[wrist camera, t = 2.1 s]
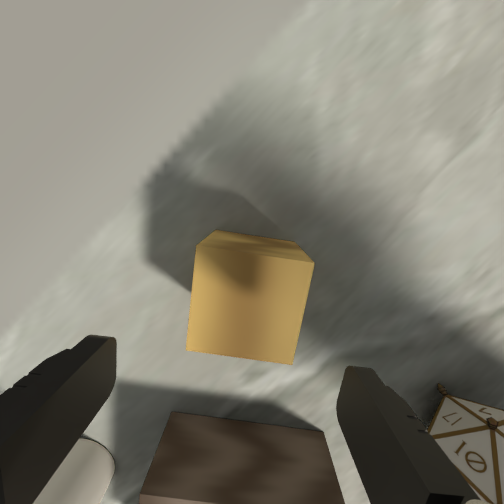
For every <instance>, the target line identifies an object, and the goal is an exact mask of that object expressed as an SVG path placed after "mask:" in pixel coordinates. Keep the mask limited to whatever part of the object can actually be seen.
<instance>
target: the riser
mask: <svg viewBox="0 0 504 504" xmlns="http://www.w3.org/2000/svg"><path fill="white" fill-rule="evenodd" d="M139 504H345V502H344V499H343V496H342V492H341V489H340V486H339V482H338V479H337V476H336V472H335V469H334V465H333V462H332V459H331V455H330V452H329V449H328V445H327V442H326V439H325V435H324V432H321V431H313V430H306V429H298V428H290V427H283V426H275V425H268V424H260V423H253V422H245V421H238V420H230V419H223V418H215V417H208V416H200V415H193V414H185V413H177V412H171V414H170V417H169V420H168V422H167V425H166V427H165V430H164V432H163V435H162V438H161V440H160V443H159V445H158V448H157V450H156V453H155V456H154V458H153V461H152V463H151V466H150V469H149V471H148V474H147V476H146V479H145V481H144V484H143V487H142V489H141V492H140V495H139Z"/></svg>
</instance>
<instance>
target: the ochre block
mask: <svg viewBox="0 0 504 504" xmlns="http://www.w3.org/2000/svg"><path fill="white" fill-rule="evenodd" d="M314 264H315V263H314V262H313V261H312V260H311V259H310V258H309V256H308V255H307V254H306V253H305V252H304V251H303V250H302V249H301V248H300V247H299V246H298V245H297V244H296V243H295V242H292V241H286V240H279V239H273V238H266V237H259V236H253V235H246V234H240V233H233V232H226V231H220V230H215V231H213V232H212V233H211V234H210V235H208V236H207V237H206V238H205V239H204V240H202V241H201V242H200V243H199V244H197V245H196V253H195V263H194V273H193V283H192V293H191V303H190V313H189V323H188V333H187V343H186V350H188V351H195V352H202V353H209V354H217V355H224V356H231V357H238V358H246V359H253V360H260V361H267V362H274V363H282V364H289V365H292V364H293V359H294V355H295V350H296V346H297V341H298V337H299V332H300V328H301V323H302V319H303V314H304V310H305V305H306V300H307V296H308V291H309V287H310V282H311V278H312V273H313V269H314Z"/></svg>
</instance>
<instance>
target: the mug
mask: <svg viewBox="0 0 504 504" xmlns="http://www.w3.org/2000/svg"><path fill="white" fill-rule="evenodd" d="M114 471H115V464H114V460H113V458H112V456H111V454H110V453H109V452H108V450H107V449H105V448H104V447H103V446H102V445H100V444H98V443H96V442H94V441H91V440H88V439H83V438H79V439H78V441H77V442H76V444H75V445H74V446H73V448H72V449H71V451H70V452H69V453H68V455H67V456H66V458H65V459H64V460H63V462H62V463H61V465H60V466H59V468H58V469H57V470H56V472H55V473H54V475H53V476H52V477H51V479H50V480H49V482H48V483H47V484H46V486H45V487H44V489H43V490H42V491H41V493H40V494H39V496H38V497H37V498H36V500H35V501H34V503H33V504H100V502H101V500H102V498H103V496H104V494H105V491H106V489H107V487H108V485H109V483H110V481H111V479H112V477H113V475H114Z"/></svg>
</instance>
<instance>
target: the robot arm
mask: <svg viewBox="0 0 504 504" xmlns="http://www.w3.org/2000/svg"><path fill="white" fill-rule="evenodd" d="M116 348H117V344H116V339H115V338H114V337H107V336H98V335H88V336H87V337H85V338H84V339H83V340H82V341H80V342H79V343H78V344H77V345H76V346H74V347H73V348H72V349H65V350H63V351H61V352H59V353H57V354H55V355H53V356H51V357H49V358H47V359H46V360H44V361H43V362H42V363H40V364H39V365H38V366H37V367H35V368H34V369H33V370H32V371H30V372H29V374H28V375H27V376H24V377H23V378H21V379H20V380H19V381H18V382H16V383H15V384H14V385H13V387H12V388H9V389H7V390H6V391H5V392H4V393H2V394H1V395H0V504H33V503H34V501H35V500H36V498H37V497H38V496H39V494H40V493H41V491H42V490H43V489H44V487H45V486H46V484H47V483H48V482H49V480H50V479H51V477H52V476H53V475H54V473H55V472H56V470H57V469H58V468H59V466H60V465H61V463H62V462H63V460H64V459H65V458H66V456H67V455H68V453H69V452H70V451H71V449H72V448H73V446H74V445H75V444H76V442H77V441H78V439H79V438H80V437H81V435H82V434H83V432H84V431H85V430H86V428H87V427H88V425H89V424H90V423H91V421H92V420H93V418H94V417H95V416H96V414H97V413H98V411H99V410H100V409H101V407H102V406H103V404H104V403H105V402H106V400H107V399H108V397H109V396H110V394H111V392H112V390H113V387H114V384H115V380H116ZM336 410H337V418H338V422H339V425H340V427H341V430H342V432H343V435H344V437H345V440H346V442H347V445H348V447H349V450H350V452H351V455H352V457H353V460H354V462H355V465H356V468H357V470H358V473H359V475H360V478H361V480H362V483H363V485H364V488H365V490H366V493H367V495H368V498H369V500H370V503H371V504H490V503H488V502H485V501H482V500H481V499H480V498H479V497H478V495H477V494H476V493H475V492H474V490H473V489H472V488H471V486H470V485H469V484H468V482H467V481H466V480H465V478H464V477H463V476H462V475H461V473H460V472H459V471H458V469H457V468H456V467H455V465H454V464H453V463H452V462H451V460H450V459H449V458H448V456H447V455H446V454H445V452H444V451H443V450H442V448H441V447H440V446H439V445H438V443H437V442H436V441H435V439H434V438H433V437H432V435H431V434H428V430H427V429H426V428H425V426H424V425H423V424H422V422H421V421H420V420H418V419H417V416H416V415H415V413H414V412H413V411H412V409H411V408H410V407H409V405H408V404H407V403H406V402H405V400H404V399H402V398H401V397H400V396H399V395H398V394H397V393H395V392H394V391H393V390H392V389H391V388H390V387H388V386H385V385H384V384H383V382H382V381H381V379H380V378H379V377H378V375H377V374H376V373H375V371H374V370H373V369H371V368H365V367H356V366H348V367H347V368H346V370H345V373H344V377H343V381H342V384H341V388H340V392H339V395H338V399H337V406H336Z"/></svg>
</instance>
